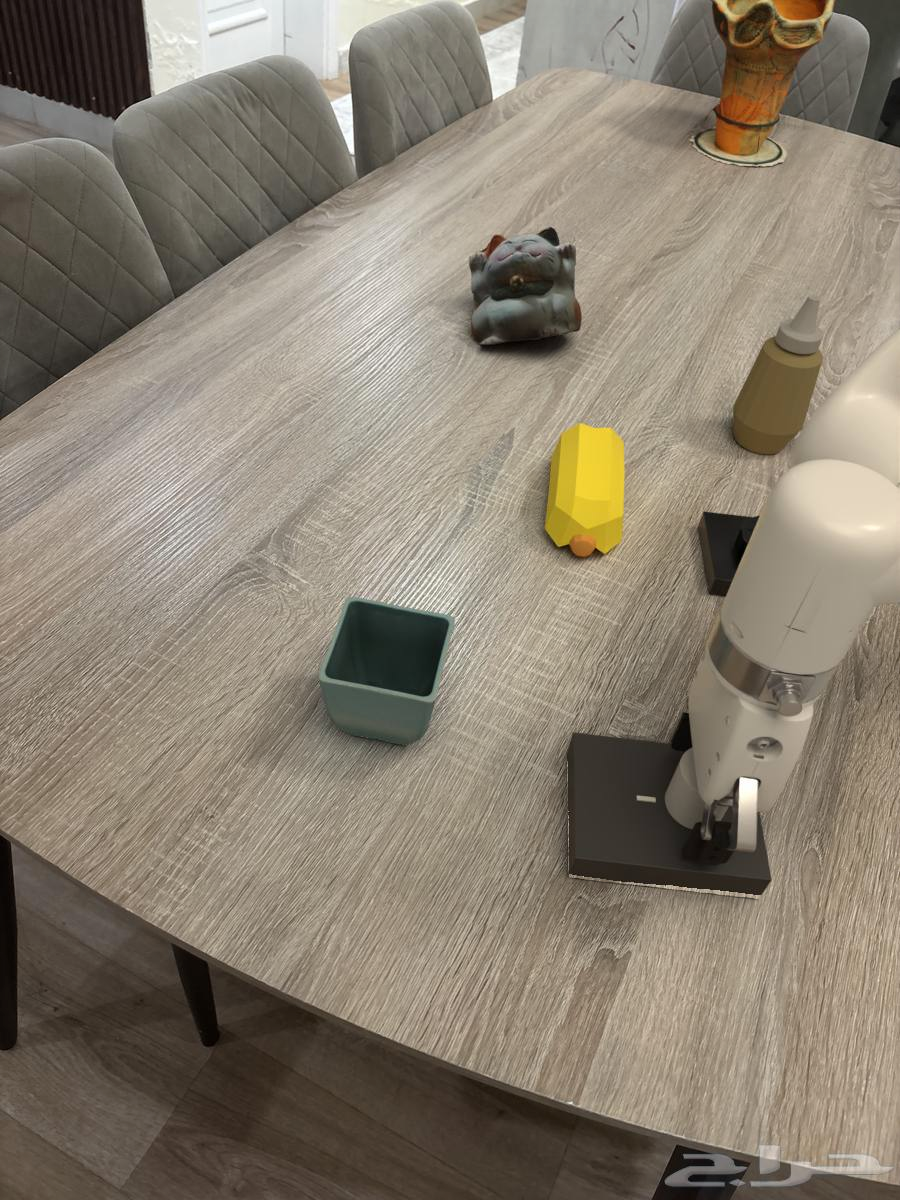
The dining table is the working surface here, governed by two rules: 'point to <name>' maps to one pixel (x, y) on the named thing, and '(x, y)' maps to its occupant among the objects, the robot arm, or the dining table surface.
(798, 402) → the squeeze bottle
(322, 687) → the flower pot
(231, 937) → the dining table surface
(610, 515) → the yellow faceted bar
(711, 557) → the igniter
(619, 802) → the panel
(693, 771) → the burner knob
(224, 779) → the dining table surface
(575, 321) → the lucky cat figurine
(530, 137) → the dining table surface
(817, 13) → the decorative vase
